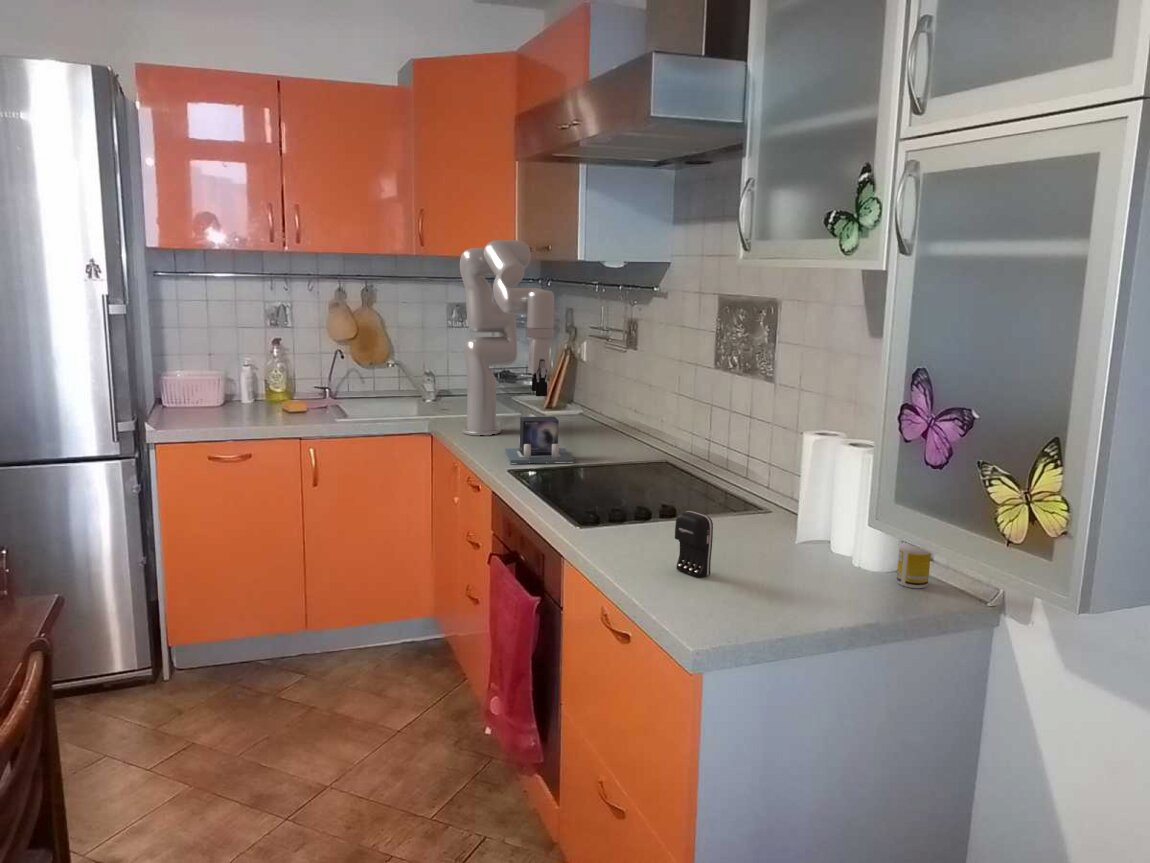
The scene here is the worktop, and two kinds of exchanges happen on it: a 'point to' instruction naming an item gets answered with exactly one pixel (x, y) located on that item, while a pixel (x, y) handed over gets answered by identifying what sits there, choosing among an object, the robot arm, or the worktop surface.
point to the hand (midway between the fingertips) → (539, 393)
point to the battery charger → (694, 543)
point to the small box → (538, 434)
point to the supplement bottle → (913, 566)
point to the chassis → (556, 456)
